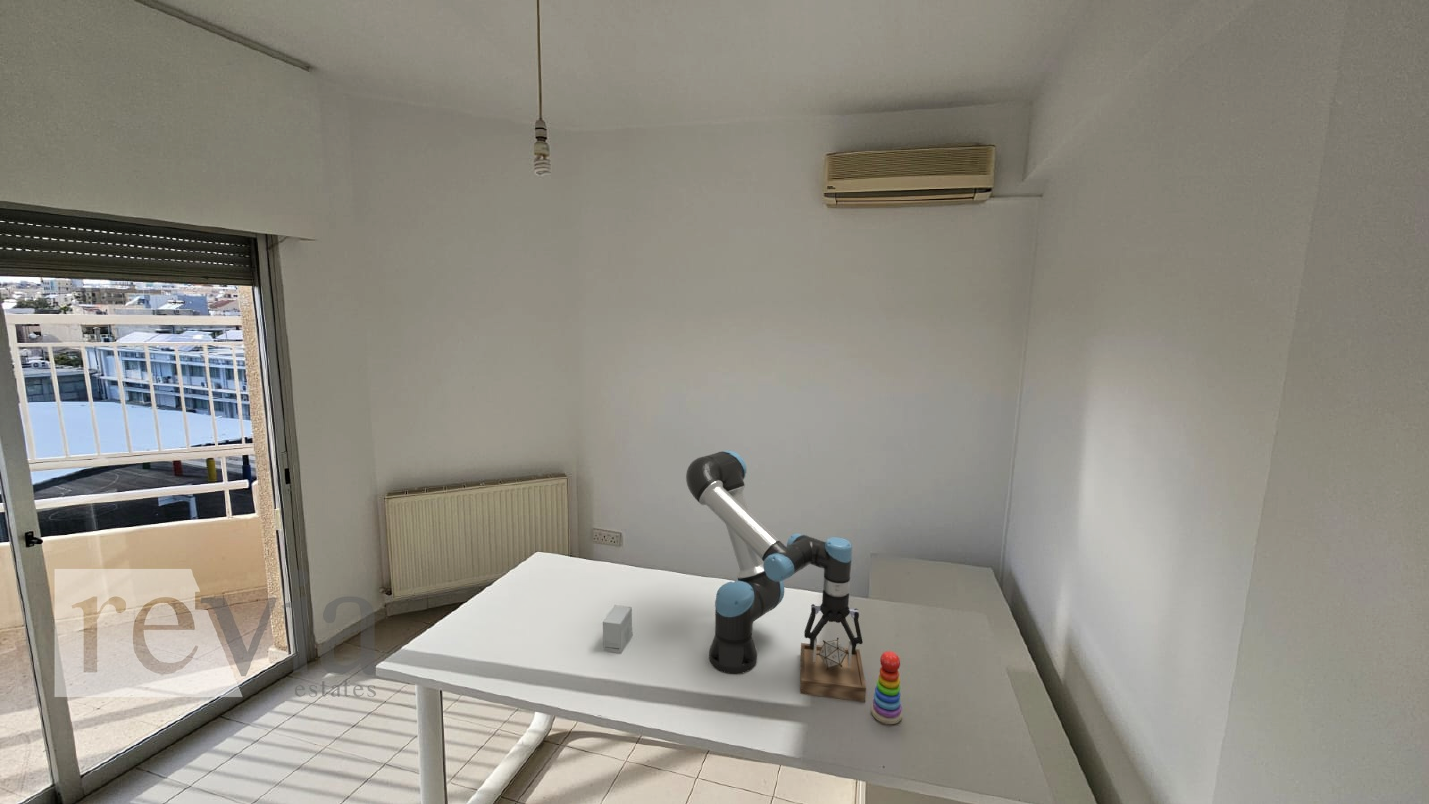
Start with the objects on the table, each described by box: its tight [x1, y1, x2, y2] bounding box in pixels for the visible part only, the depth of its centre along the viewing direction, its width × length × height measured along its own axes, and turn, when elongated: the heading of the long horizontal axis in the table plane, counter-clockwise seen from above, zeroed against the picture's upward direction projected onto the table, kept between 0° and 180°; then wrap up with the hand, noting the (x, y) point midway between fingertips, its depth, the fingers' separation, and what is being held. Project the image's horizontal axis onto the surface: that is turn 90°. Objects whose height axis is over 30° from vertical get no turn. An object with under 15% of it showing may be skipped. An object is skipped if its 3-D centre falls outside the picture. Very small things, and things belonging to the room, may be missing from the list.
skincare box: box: [602, 604, 634, 655], centre depth 175 cm, size 10×6×10 cm, turn 168°
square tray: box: [799, 642, 867, 703], centre depth 161 cm, size 18×18×4 cm
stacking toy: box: [870, 650, 903, 725], centre depth 145 cm, size 8×8×19 cm
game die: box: [816, 637, 849, 670], centre depth 161 cm, size 9×8×10 cm
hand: (831, 661), depth 161 cm, fingers closed on game die, 9 cm apart
